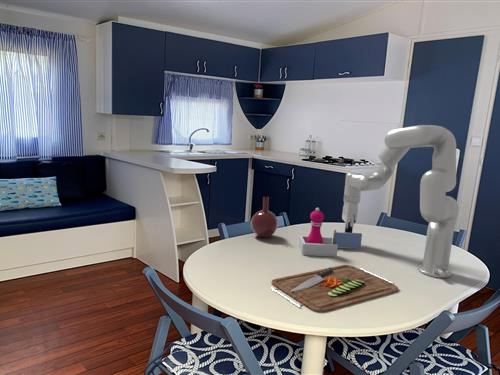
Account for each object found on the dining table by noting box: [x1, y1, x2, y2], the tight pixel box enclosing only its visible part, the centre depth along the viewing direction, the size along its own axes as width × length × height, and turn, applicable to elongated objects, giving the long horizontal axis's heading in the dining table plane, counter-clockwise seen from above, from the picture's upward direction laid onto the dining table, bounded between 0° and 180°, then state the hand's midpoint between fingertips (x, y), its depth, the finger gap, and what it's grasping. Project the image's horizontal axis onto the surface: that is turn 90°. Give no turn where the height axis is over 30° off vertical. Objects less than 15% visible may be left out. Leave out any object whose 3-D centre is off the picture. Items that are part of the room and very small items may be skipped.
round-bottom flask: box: [250, 195, 279, 238], centre depth 204 cm, size 13×13×20 cm
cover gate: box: [332, 229, 363, 249], centre depth 194 cm, size 13×1×8 cm, turn 91°
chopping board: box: [270, 264, 399, 313], centre depth 150 cm, size 45×27×3 cm, turn 122°
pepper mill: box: [307, 207, 325, 244], centre depth 187 cm, size 7×7×20 cm
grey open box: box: [298, 235, 339, 257], centre depth 188 cm, size 12×15×5 cm
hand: (348, 235), depth 200 cm, fingers closed
